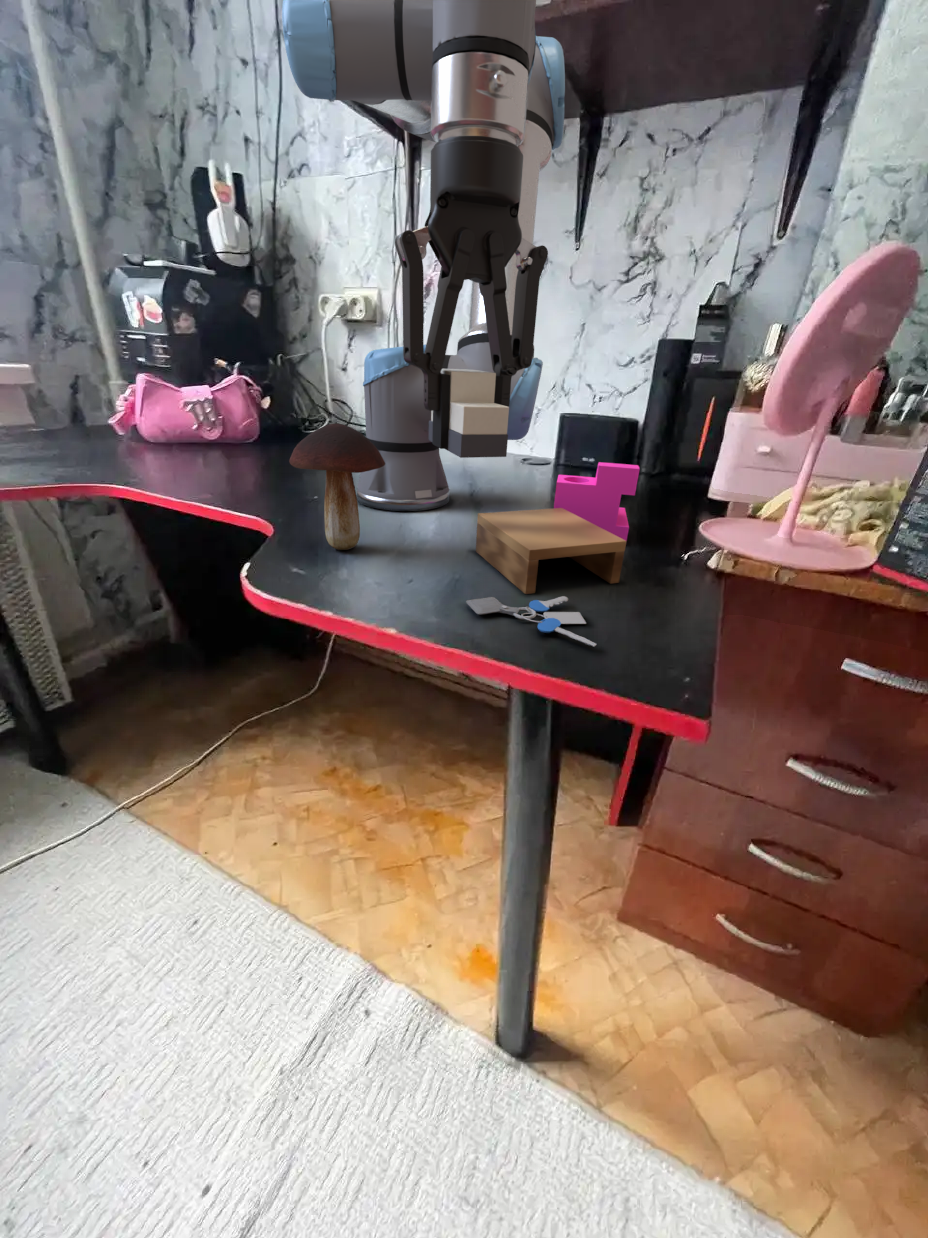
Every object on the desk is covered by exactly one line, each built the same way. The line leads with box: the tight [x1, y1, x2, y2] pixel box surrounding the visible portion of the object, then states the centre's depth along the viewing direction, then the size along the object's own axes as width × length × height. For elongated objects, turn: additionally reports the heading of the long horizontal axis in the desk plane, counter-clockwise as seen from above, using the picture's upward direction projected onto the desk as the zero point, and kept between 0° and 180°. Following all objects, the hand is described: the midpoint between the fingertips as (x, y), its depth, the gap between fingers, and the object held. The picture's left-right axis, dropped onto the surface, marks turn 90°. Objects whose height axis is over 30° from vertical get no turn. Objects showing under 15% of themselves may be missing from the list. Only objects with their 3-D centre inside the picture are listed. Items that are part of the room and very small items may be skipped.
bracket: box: [553, 461, 640, 542], centre depth 78 cm, size 12×10×10 cm
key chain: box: [465, 595, 597, 648], centre depth 53 cm, size 14×8×1 cm, turn 60°
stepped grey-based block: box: [429, 369, 509, 459], centre depth 53 cm, size 10×5×7 cm, turn 20°
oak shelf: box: [475, 507, 627, 595], centre depth 65 cm, size 14×12×5 cm
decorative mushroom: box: [288, 422, 385, 551], centre depth 65 cm, size 11×11×15 cm
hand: (465, 445), depth 54 cm, fingers closed on stepped grey-based block, 5 cm apart
